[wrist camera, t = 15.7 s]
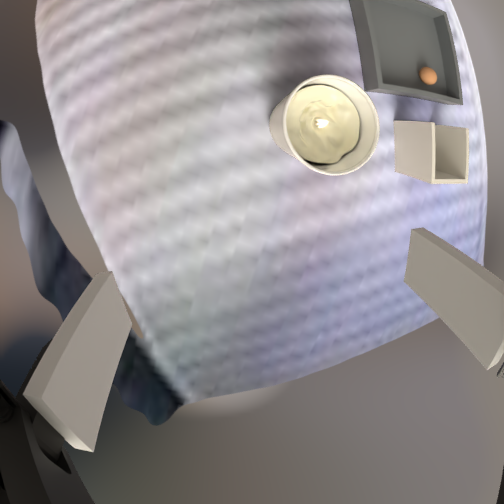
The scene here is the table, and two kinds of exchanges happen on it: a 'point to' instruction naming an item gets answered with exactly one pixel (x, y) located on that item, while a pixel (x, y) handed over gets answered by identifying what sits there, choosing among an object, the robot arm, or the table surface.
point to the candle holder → (327, 125)
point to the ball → (428, 75)
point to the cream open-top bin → (431, 152)
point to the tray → (406, 49)
